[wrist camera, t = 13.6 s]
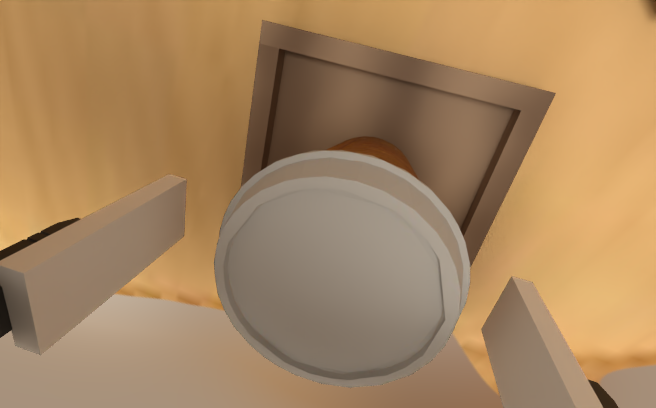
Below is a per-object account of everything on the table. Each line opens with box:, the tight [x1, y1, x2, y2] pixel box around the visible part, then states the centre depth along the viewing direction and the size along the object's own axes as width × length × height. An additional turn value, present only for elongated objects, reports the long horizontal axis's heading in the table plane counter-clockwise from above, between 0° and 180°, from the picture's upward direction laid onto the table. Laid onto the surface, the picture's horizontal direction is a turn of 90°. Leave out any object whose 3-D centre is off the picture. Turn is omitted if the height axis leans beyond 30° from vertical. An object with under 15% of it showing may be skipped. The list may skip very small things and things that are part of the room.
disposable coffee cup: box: [214, 136, 470, 387], centre depth 17 cm, size 10×10×12 cm
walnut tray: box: [241, 20, 556, 267], centre depth 22 cm, size 16×16×2 cm
